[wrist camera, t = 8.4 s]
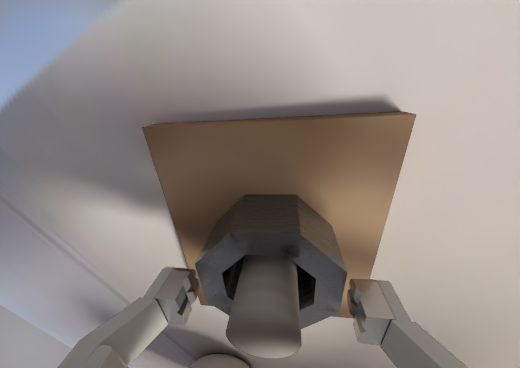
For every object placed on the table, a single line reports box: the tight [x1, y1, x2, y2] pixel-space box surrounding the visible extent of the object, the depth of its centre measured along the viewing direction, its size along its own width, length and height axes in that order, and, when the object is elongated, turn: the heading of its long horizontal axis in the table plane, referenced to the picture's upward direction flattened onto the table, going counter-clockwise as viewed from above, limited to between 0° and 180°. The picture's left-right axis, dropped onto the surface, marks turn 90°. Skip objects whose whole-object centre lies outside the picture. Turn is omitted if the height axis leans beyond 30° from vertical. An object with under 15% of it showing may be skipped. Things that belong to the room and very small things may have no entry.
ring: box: [195, 194, 347, 329], centre depth 10 cm, size 7×7×3 cm
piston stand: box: [142, 112, 416, 358], centre depth 10 cm, size 14×12×6 cm
